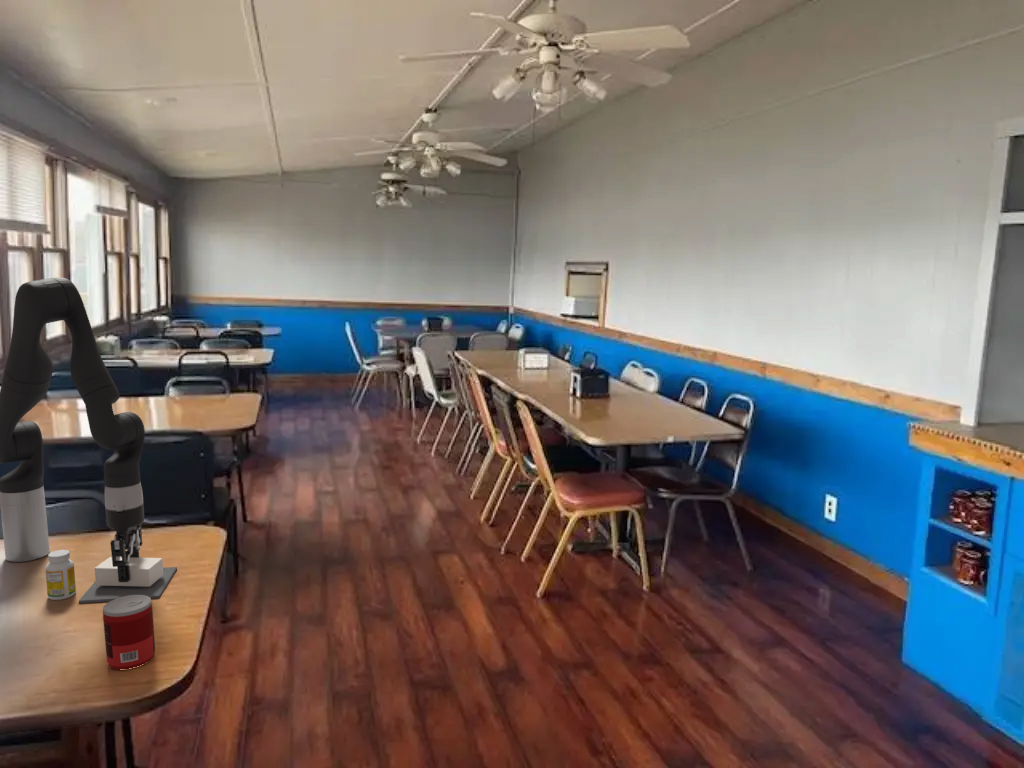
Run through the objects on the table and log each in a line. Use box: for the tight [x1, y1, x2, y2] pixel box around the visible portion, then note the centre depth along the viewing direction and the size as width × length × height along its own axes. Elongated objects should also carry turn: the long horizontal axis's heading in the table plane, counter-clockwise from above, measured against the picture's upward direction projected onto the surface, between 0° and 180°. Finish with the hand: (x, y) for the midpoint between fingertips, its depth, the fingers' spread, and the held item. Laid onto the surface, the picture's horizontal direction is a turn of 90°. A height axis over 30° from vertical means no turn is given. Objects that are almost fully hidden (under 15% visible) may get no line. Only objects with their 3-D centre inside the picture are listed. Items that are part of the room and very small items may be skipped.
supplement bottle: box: [44, 549, 77, 601], centre depth 167 cm, size 5×5×10 cm
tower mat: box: [78, 566, 178, 604], centre depth 173 cm, size 16×16×1 cm
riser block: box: [94, 556, 164, 587], centre depth 172 cm, size 6×12×4 cm, turn 89°
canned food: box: [102, 595, 156, 671], centre depth 140 cm, size 8×8×11 cm
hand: (129, 574), depth 173 cm, fingers closed on riser block, 7 cm apart
